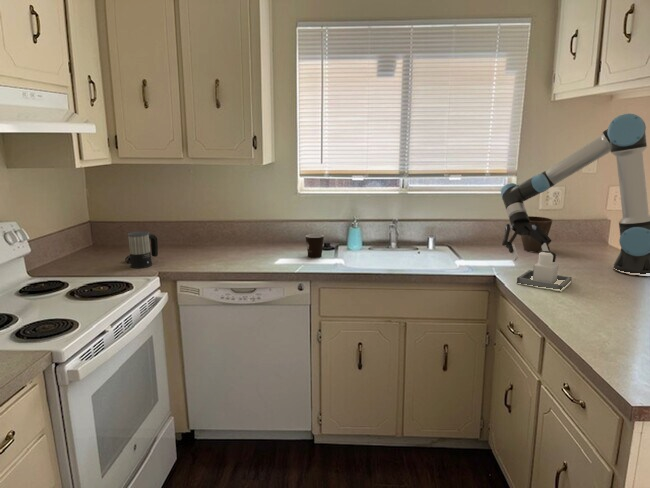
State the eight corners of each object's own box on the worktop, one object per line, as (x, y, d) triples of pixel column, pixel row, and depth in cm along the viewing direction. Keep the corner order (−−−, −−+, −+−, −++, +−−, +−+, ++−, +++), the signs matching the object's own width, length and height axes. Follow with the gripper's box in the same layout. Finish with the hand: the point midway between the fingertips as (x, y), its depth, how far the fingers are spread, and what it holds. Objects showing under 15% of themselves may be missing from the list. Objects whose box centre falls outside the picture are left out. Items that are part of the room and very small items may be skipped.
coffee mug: (323, 258, 228) (323, 237, 225) (305, 258, 228) (304, 237, 226) (324, 252, 239) (324, 232, 237) (306, 252, 239) (306, 232, 237)
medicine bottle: (537, 278, 194) (540, 249, 191) (556, 281, 189) (560, 251, 187) (532, 282, 188) (534, 252, 186) (551, 286, 184) (554, 255, 181)
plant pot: (543, 247, 248) (546, 216, 244) (553, 254, 233) (557, 221, 230) (513, 246, 249) (515, 216, 246) (521, 253, 235) (524, 221, 231)
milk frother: (144, 269, 211) (141, 235, 208) (112, 267, 214) (109, 234, 211) (162, 261, 225) (159, 229, 221) (131, 259, 228) (128, 228, 225)
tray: (571, 283, 189) (571, 277, 188) (560, 292, 179) (561, 285, 178) (528, 275, 199) (529, 270, 198) (516, 283, 189) (517, 277, 188)
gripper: (541, 220, 213) (557, 262, 201) (486, 221, 211) (499, 264, 199) (549, 210, 206) (566, 253, 195) (492, 211, 204) (506, 254, 193)
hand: (532, 258), depth 197 cm, fingers open, 13 cm apart
